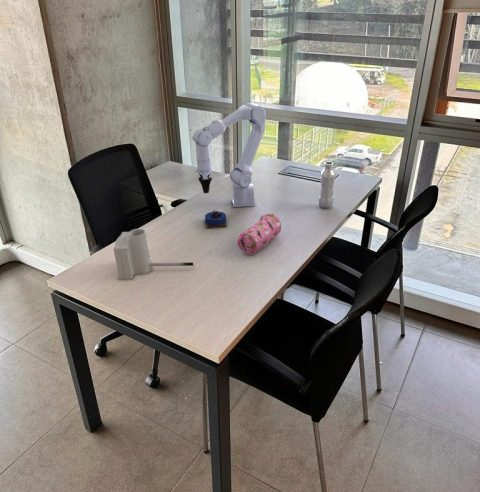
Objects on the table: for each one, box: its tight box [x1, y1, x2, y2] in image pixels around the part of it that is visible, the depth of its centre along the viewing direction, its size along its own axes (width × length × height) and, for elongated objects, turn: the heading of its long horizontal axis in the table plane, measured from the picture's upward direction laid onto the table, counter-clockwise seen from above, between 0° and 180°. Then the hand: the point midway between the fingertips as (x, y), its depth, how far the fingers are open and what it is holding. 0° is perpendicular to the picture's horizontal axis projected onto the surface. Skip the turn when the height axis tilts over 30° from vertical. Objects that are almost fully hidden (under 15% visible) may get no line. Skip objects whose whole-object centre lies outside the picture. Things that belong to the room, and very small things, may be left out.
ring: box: [204, 210, 227, 226], centre depth 192 cm, size 9×9×2 cm
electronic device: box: [113, 228, 194, 280], centre depth 158 cm, size 12×26×15 cm, turn 88°
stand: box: [206, 209, 227, 229], centre depth 191 cm, size 8×8×6 cm
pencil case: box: [237, 213, 282, 255], centre depth 174 cm, size 21×9×9 cm, turn 150°
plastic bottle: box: [318, 161, 336, 209], centre depth 199 cm, size 6×7×20 cm
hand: (205, 189), depth 198 cm, fingers open, 7 cm apart
